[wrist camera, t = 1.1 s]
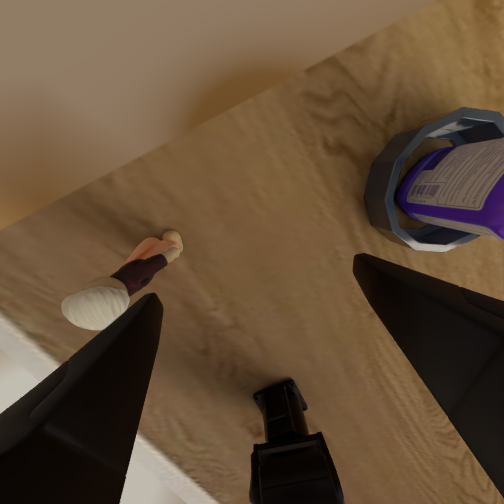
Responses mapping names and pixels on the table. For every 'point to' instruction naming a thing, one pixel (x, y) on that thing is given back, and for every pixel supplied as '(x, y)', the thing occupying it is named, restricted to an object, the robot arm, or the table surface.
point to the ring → (397, 152)
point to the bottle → (459, 188)
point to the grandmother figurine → (121, 283)
